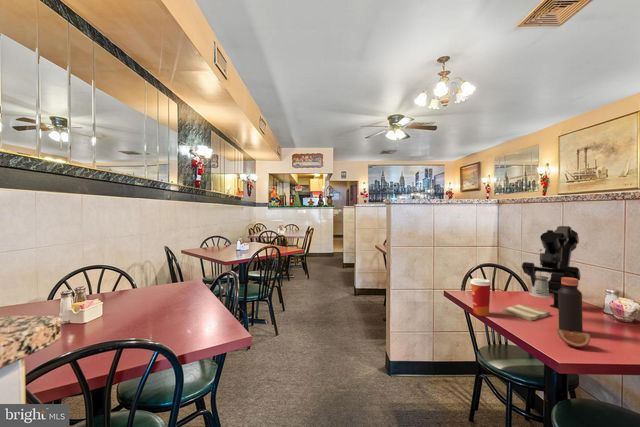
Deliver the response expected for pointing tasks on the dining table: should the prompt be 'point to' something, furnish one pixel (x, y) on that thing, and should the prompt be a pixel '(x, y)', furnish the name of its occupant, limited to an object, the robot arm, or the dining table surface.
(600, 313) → the dining table surface
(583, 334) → the fruit slice
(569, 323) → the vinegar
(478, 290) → the coffee cup
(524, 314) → the napkin
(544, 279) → the french press
